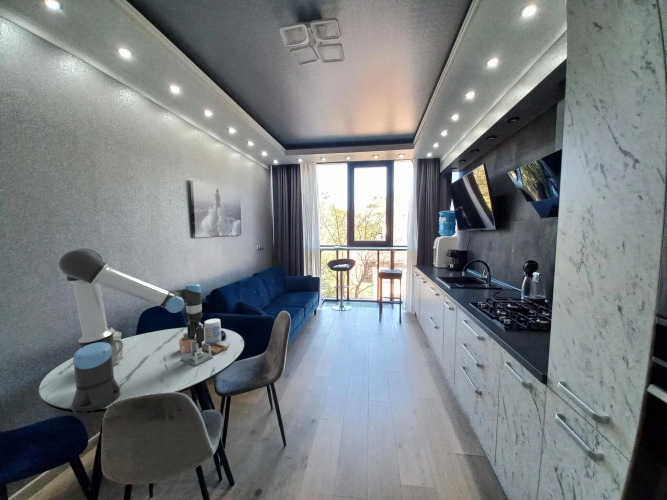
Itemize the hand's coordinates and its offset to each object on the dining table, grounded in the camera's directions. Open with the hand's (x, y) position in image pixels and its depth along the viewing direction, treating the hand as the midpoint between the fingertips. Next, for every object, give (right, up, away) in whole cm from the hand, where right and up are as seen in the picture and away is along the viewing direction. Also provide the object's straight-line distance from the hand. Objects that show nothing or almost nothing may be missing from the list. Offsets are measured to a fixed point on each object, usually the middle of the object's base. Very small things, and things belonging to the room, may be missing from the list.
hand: (196, 351), depth 142 cm
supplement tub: (0, -3, +21) cm, 21 cm away
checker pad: (0, -3, 0) cm, 3 cm away
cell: (0, -1, 0) cm, 1 cm away
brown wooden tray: (+5, -3, +11) cm, 13 cm away
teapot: (-45, -5, -5) cm, 45 cm away
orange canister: (-12, -3, +12) cm, 17 cm away
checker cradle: (0, -4, 0) cm, 4 cm away
